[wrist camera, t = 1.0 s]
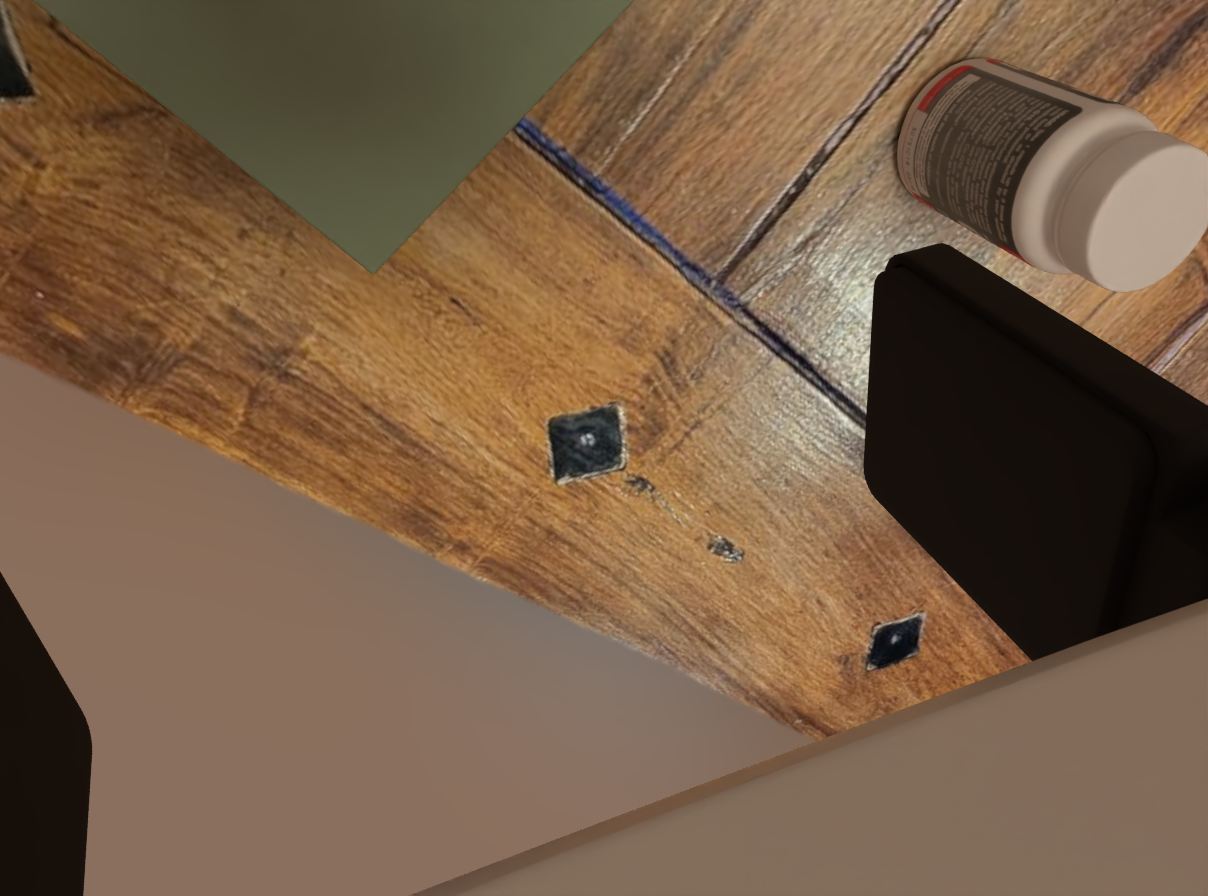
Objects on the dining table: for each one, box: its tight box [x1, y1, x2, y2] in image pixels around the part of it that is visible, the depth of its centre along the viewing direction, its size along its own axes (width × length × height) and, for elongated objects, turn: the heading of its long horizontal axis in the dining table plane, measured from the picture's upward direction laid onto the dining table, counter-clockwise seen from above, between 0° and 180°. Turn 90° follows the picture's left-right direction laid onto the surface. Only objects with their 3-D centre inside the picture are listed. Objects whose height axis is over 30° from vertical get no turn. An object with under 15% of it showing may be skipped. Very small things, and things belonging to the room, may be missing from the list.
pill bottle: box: [897, 58, 1208, 292], centre depth 30 cm, size 5×5×8 cm
